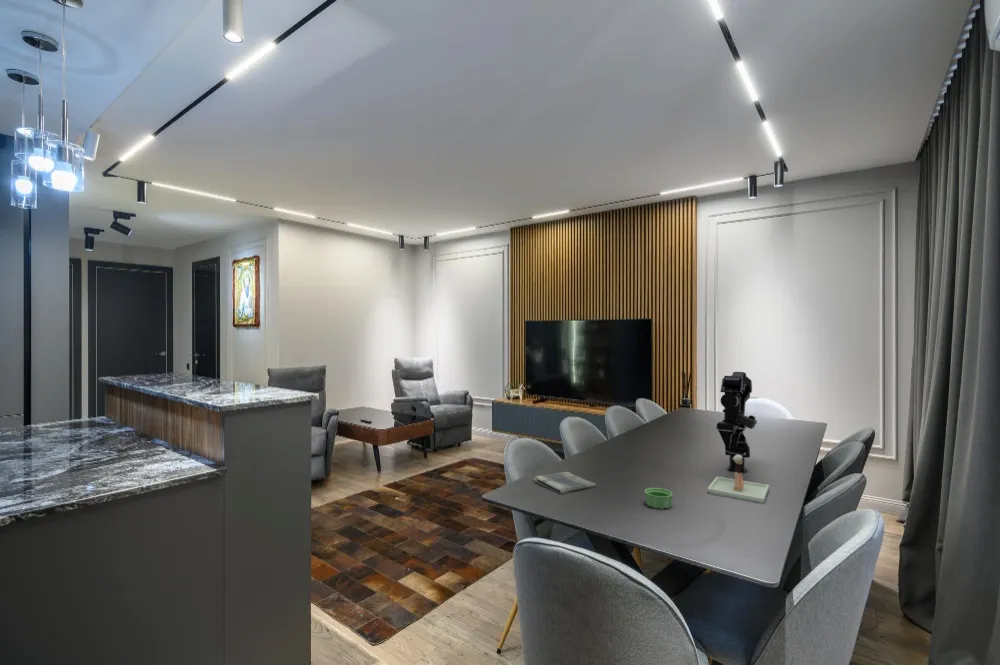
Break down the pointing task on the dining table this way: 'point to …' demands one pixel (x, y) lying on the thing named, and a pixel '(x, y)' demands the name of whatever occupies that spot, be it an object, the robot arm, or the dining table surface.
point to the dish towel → (563, 482)
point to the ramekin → (658, 498)
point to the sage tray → (748, 493)
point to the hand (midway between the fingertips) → (731, 447)
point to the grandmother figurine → (738, 473)
